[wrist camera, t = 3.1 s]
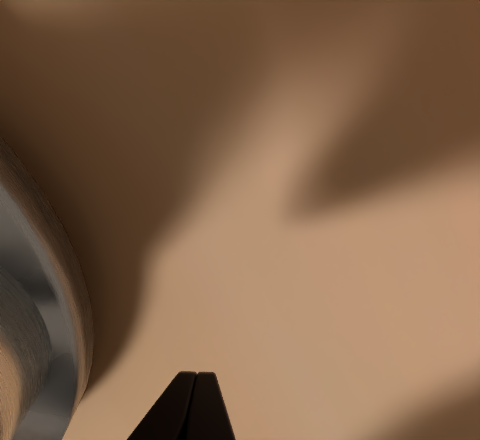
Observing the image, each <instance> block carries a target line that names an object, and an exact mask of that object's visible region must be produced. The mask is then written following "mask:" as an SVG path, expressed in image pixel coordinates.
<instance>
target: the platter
mask: <svg viewBox="0 0 480 440" xmlns="http://www.w3.org/2000/svg"><path fill="white" fill-rule="evenodd" d="M0 266H1V267H2V268H4V269H5V270H6V271H7V272H8V273H9V274H10V275H11V276H12V277H13V278H14V279H15V280H16V281H17V282H18V283H19V284H20V285H21V286H22V288H23V289H24V290H25V291H26V292H27V293H28V295H29V296H30V298H31V299H32V301H33V302H34V303H35V305H36V306H37V308H38V310H39V312H40V314H41V315H42V317H43V319H44V321H45V324H46V327H47V329H48V332H49V335H50V340H51V346H52V365H51V371H50V374H49V377H48V379H47V382H46V384H45V385H44V387H43V389H42V390H41V392H40V394H39V395H38V397H37V399H36V400H35V402H34V404H33V405H32V407H31V409H30V410H29V412H28V414H27V415H26V417H25V419H24V420H23V422H22V424H21V425H20V427H19V429H18V430H17V432H16V434H15V435H14V437H13V439H12V440H62V438H63V436H64V434H65V432H66V430H67V428H68V426H69V424H70V421H71V419H72V417H73V415H74V413H75V411H76V409H77V407H78V404H79V402H80V400H81V398H82V395H83V393H84V391H85V389H86V386H87V383H88V379H89V375H90V370H91V366H92V362H93V345H94V327H93V319H92V311H91V302H90V298H89V294H88V290H87V287H86V283H85V280H84V276H83V273H82V269H81V265H80V263H79V261H78V259H77V256H76V254H75V252H74V249H73V247H72V245H71V242H70V240H69V238H68V235H67V233H66V231H65V228H64V227H63V225H62V223H61V222H60V220H59V218H58V216H57V215H56V213H55V211H54V210H53V208H52V206H51V204H50V203H49V201H48V199H47V198H46V196H45V194H44V193H43V191H42V189H41V188H40V186H39V185H38V184H37V182H36V181H35V180H34V178H33V177H32V176H31V174H30V173H29V172H28V170H27V169H26V168H25V166H24V165H23V164H22V162H21V161H20V159H19V158H18V157H17V155H16V154H15V153H14V151H13V150H12V149H11V147H10V146H9V145H8V144H7V143H6V142H5V141H4V140H3V139H2V138H1V137H0Z"/></svg>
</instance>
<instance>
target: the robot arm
mask: <svg viewBox="0 0 480 440" xmlns="http://www.w3.org/2000/svg"><path fill="white" fill-rule="evenodd" d="M127 440H236V439H235V436H234V433H233V429H232V426H231V423H230V420H229V416H228V413H227V410H226V406H225V403H224V400H223V397H222V393H221V390H220V387H219V384H218V380H217V377H216V374H215V373H214V372H199V373H198V374H197V373H196V372H191V371H181V372H179V373H178V374H177V375H176V376H175V378H174V379H173V380H172V382H171V383H170V384H169V385H168V387H167V388H166V389H165V391H164V392H163V393H162V395H161V396H160V397H159V398H158V400H157V401H156V402H155V404H154V405H153V406H152V408H151V409H150V410H149V411H148V413H147V414H146V415H145V417H144V418H143V419H142V421H141V422H140V423H139V424H138V426H137V427H136V428H135V430H134V431H133V432H132V434H131V435H130V436H129V437H128V439H127Z"/></svg>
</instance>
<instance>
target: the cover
mask: <svg viewBox="0 0 480 440" xmlns="http://www.w3.org/2000/svg"><path fill="white" fill-rule="evenodd" d="M51 365H52V346H51V340H50V335H49V332H48V329H47V327H46V324H45V321H44V319H43V317H42V315H41V314H40V312H39V310H38V308H37V306H36V305H35V303H34V302H33V301H32V299H31V298H30V296H29V295H28V293H27V292H26V291H25V290H24V289H23V288H22V286H21V285H20V284H19V283H18V282H17V281H16V280H15V279H14V278H13V277H12V276H11V275H10V274H9V273H8V272H7V271H6V270H5V269H4V268H2V267H1V266H0V440H12V439H13V437H14V435H15V434H16V432H17V430H18V429H19V427H20V425H21V424H22V422H23V420H24V419H25V417H26V415H27V414H28V412H29V410H30V409H31V407H32V405H33V404H34V402H35V400H36V399H37V397H38V395H39V394H40V392H41V390H42V389H43V387H44V385H45V384H46V382H47V379H48V377H49V374H50V371H51Z"/></svg>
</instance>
